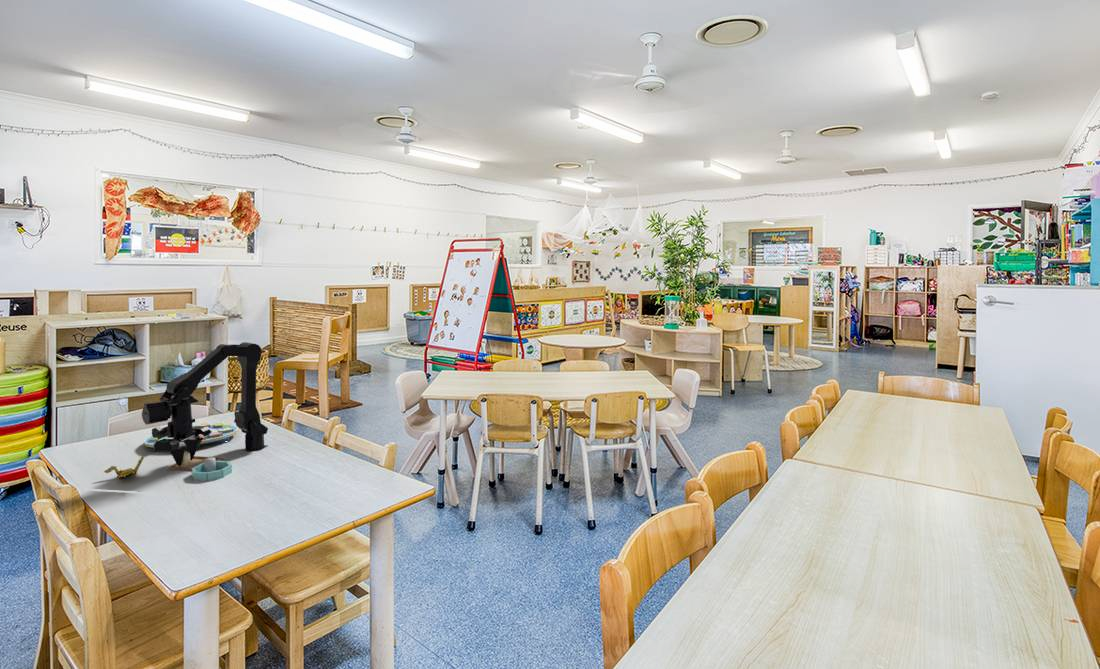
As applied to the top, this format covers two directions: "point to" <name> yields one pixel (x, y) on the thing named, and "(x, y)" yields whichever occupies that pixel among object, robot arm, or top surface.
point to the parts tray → (193, 463)
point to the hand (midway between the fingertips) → (184, 462)
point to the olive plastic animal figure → (125, 472)
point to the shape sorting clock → (217, 434)
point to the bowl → (221, 471)
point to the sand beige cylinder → (186, 460)
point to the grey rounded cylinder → (210, 464)
